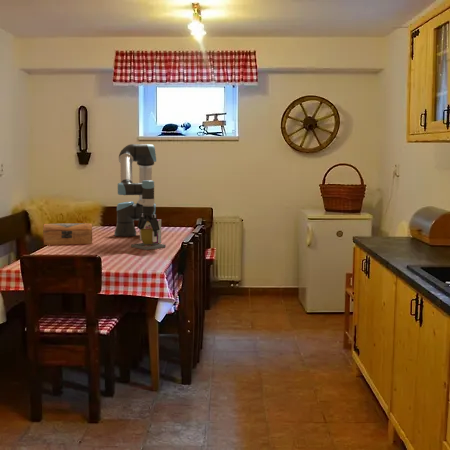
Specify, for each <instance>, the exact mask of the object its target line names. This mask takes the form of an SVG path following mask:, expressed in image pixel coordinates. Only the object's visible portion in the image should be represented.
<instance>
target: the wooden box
mask: <svg viewBox="0 0 450 450" xmlns="http://www.w3.org/2000/svg"><path fill="white" fill-rule="evenodd" d="M42 235H43V245H45V246H46V245H51V246H52V245H55V246H57V245H92V244H93V223H44V224H43V229H42Z"/></svg>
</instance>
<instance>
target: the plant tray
mask: <svg viewBox="0 0 450 450" xmlns="http://www.w3.org/2000/svg"><path fill="white" fill-rule="evenodd" d="M166 245H167V244H165V243H164V244H163V243H159V244H158V243H153V244H144V243H143V242H142V243H141V242H140V243H139V242H138V243H134V244H133V243H131V244H130V247H131V248H135V249H139V250H144V251H148V250H156V249H163V248H166V247H167V246H166Z"/></svg>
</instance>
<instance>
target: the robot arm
mask: <svg viewBox="0 0 450 450" xmlns="http://www.w3.org/2000/svg"><path fill="white" fill-rule="evenodd" d="M133 162H136V165H137V166H138V169H139V170H138V171H139V172H138V182H133ZM156 162H157V154H156V148H155V145H154V144H152V143H151V144H149V143H130V144H127V145H125V146H124V147H123V148H122V149H121V151H120V152H119V155H118V163H119V165H120V172H119V173H120V182H119V183H117V195H119V196H138V199H137V200H136V203H135V202H134V201H124V202H119V203H117V205H116V226H115V229H114V236H116V237H135V236H137V231H136V227H137V229H139V240H140V241H142V238H141V229H144V226H145V224H146V222H147V221H149V222H150V224H151V226H152V229H153V231H152V241H153V242H157V231H158V230H160V229H159V225H158V221H157V219H158V215H157V214H156V207H157V205H156V203H155V181H154V180H153V175H152V174H153V166H154V165H155V163H156ZM135 221H138V223H137V226H136V227H135Z"/></svg>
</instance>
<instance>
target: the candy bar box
mask: <svg viewBox="0 0 450 450" xmlns="http://www.w3.org/2000/svg"><path fill="white" fill-rule="evenodd" d="M157 221H158V225H159V229H160V230H158V231H157V242H153V243H159V244H162V219H158V218H157ZM144 229H152V226H151V224H150V222H149V221H147V222H146V224H145V226H144Z"/></svg>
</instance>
